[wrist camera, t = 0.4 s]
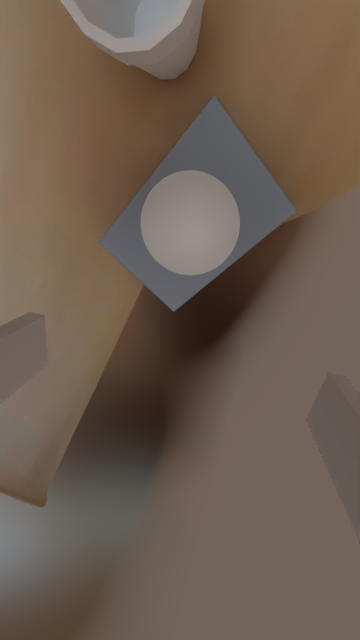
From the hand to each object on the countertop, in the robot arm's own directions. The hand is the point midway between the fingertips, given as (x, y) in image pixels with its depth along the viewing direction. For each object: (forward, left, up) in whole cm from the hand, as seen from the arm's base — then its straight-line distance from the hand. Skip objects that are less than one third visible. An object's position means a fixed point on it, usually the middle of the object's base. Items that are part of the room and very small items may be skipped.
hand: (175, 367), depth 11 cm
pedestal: (0, -2, -26) cm, 26 cm away
